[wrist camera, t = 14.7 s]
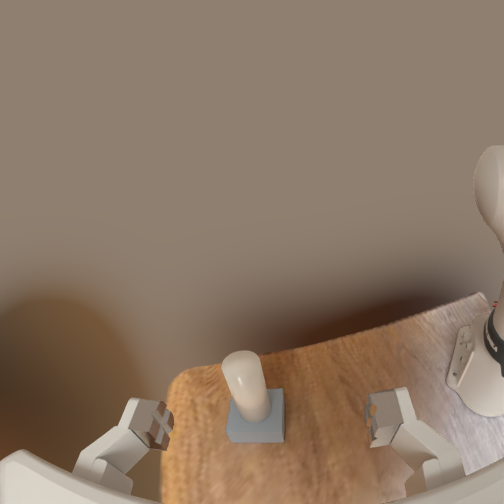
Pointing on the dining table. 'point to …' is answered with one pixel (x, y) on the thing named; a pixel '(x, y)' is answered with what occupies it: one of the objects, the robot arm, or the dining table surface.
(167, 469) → the dining table surface
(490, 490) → the robot arm
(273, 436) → the plinth
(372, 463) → the dining table surface
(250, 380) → the white pillar candle
